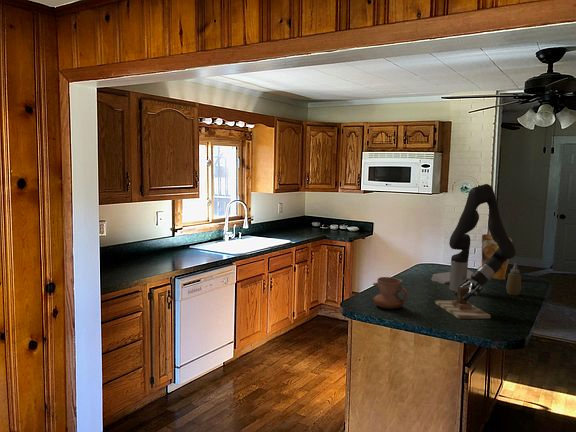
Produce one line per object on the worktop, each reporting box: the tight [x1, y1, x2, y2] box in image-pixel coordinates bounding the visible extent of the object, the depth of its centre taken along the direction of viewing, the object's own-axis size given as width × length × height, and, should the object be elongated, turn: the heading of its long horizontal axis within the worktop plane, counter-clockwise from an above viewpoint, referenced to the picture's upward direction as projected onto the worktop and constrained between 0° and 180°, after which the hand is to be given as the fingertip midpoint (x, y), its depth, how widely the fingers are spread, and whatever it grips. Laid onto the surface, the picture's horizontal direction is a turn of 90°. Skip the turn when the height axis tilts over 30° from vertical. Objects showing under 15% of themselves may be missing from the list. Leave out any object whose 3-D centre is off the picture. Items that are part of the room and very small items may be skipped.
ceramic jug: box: [372, 276, 409, 310], centre depth 246 cm, size 18×14×14 cm
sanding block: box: [451, 287, 473, 310], centre depth 245 cm, size 9×6×10 cm, turn 8°
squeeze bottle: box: [505, 262, 522, 296], centre depth 281 cm, size 8×8×18 cm
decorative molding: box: [431, 269, 474, 285], centre depth 314 cm, size 34×5×10 cm
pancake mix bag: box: [481, 233, 513, 281], centre depth 324 cm, size 7×19×28 cm, turn 47°
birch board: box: [434, 299, 492, 320], centre depth 246 cm, size 26×16×2 cm, turn 8°
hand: (459, 297), depth 245 cm, fingers open, 8 cm apart
